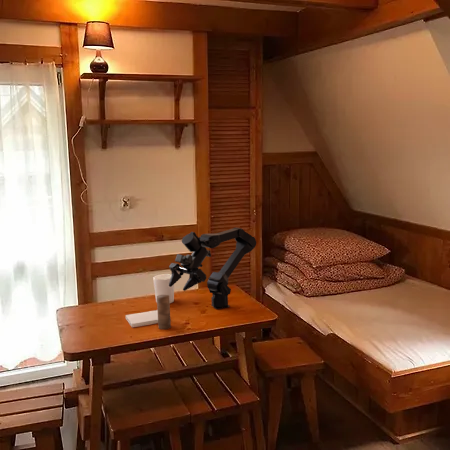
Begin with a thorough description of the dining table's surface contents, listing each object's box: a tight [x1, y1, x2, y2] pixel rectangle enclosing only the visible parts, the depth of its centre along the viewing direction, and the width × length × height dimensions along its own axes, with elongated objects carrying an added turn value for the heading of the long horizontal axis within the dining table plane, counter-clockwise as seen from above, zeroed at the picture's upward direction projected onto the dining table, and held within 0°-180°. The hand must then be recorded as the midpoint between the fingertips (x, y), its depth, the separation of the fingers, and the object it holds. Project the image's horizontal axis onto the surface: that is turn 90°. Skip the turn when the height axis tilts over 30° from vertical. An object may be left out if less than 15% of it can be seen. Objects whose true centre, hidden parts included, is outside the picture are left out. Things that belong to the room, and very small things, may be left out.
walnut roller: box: [156, 295, 172, 330], centre depth 216 cm, size 5×5×13 cm
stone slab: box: [125, 309, 158, 328], centre depth 227 cm, size 16×12×2 cm
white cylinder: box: [152, 273, 175, 304], centre depth 250 cm, size 10×10×12 cm
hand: (176, 288), depth 221 cm, fingers open, 9 cm apart
